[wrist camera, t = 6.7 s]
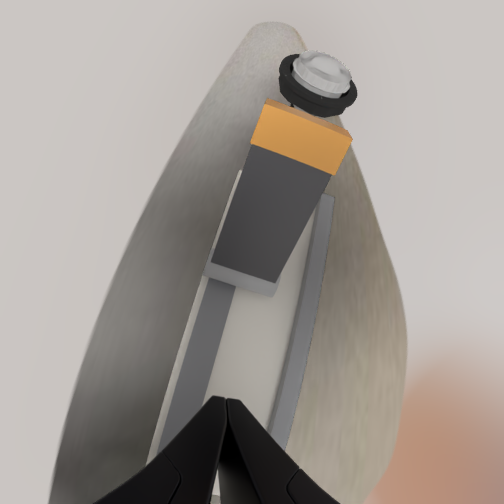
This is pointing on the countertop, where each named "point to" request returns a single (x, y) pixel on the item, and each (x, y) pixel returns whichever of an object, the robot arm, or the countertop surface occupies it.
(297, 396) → the panel
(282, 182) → the lever
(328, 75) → the push button
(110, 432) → the countertop surface
